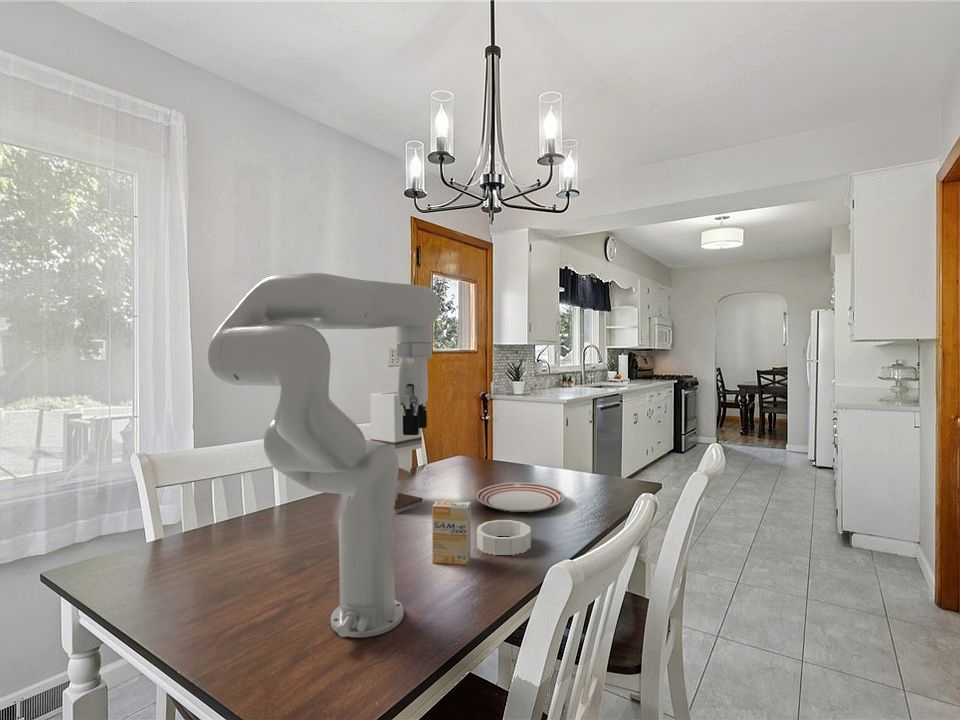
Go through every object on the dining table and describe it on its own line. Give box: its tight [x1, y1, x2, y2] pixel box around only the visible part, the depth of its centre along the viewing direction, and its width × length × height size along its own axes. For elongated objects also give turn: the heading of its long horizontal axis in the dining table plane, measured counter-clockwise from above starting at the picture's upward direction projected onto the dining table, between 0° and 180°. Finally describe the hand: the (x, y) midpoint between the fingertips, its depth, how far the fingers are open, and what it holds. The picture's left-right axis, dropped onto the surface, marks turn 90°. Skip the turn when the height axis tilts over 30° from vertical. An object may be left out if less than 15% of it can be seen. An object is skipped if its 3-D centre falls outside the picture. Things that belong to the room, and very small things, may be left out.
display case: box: [369, 390, 424, 515], centre depth 156 cm, size 11×11×35 cm
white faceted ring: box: [476, 519, 532, 556], centre depth 123 cm, size 13×13×4 cm
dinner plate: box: [475, 482, 566, 513], centre depth 157 cm, size 27×27×3 cm
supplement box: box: [431, 499, 472, 566], centre depth 114 cm, size 8×5×13 cm, turn 81°
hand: (415, 431), depth 109 cm, fingers open, 9 cm apart
